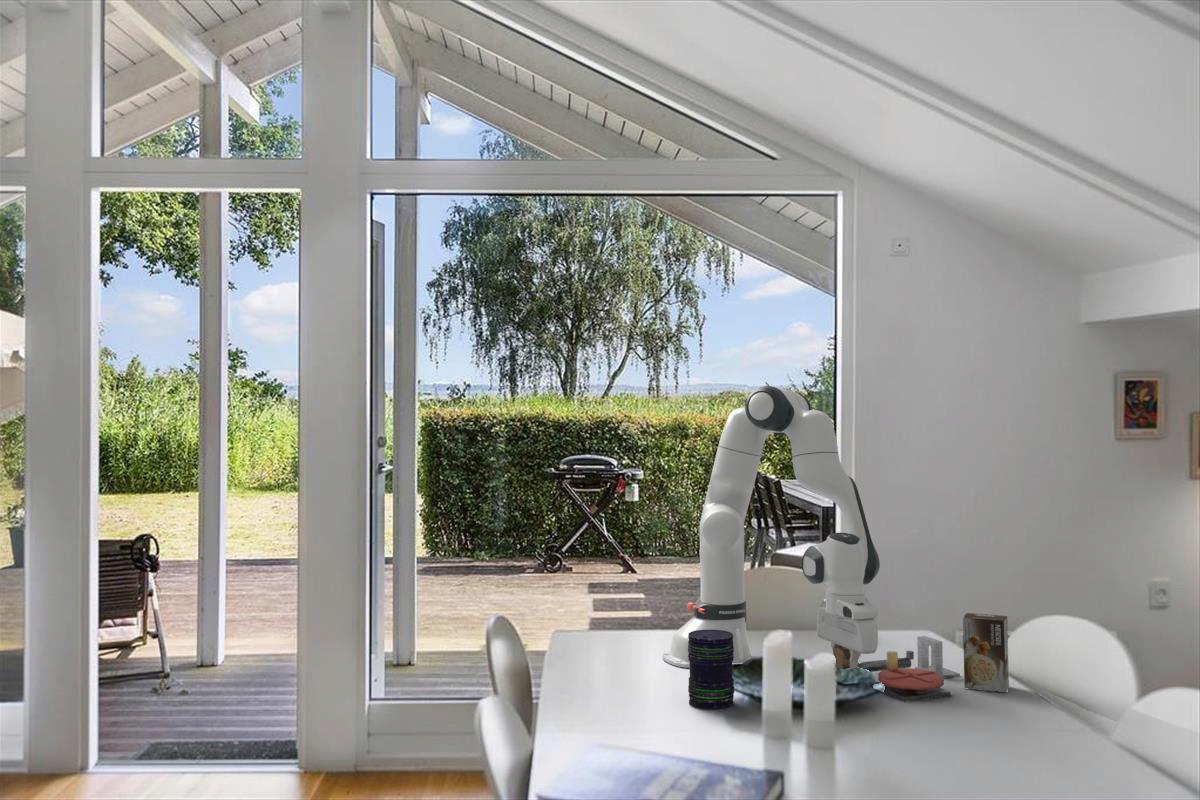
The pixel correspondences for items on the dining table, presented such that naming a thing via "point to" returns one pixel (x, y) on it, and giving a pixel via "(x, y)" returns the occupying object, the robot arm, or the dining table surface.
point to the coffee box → (985, 652)
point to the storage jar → (711, 669)
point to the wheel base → (915, 693)
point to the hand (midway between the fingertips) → (845, 665)
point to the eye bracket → (932, 657)
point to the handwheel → (908, 676)
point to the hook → (844, 654)
